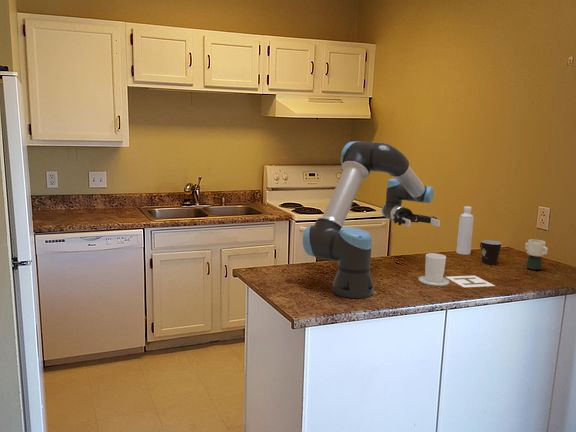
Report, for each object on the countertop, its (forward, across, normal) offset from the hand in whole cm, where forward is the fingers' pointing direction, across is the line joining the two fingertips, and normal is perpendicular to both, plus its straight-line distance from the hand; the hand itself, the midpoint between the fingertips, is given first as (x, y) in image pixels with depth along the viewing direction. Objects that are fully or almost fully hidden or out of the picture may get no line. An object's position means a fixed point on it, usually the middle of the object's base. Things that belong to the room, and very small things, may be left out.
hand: (424, 223), depth 215 cm
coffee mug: (-12, -42, -21) cm, 48 cm away
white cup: (+12, 0, -21) cm, 24 cm away
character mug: (+1, -56, -21) cm, 59 cm away
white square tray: (+14, -15, -21) cm, 29 cm away
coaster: (+12, 0, -22) cm, 25 cm away
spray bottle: (-30, -40, -21) cm, 54 cm away
